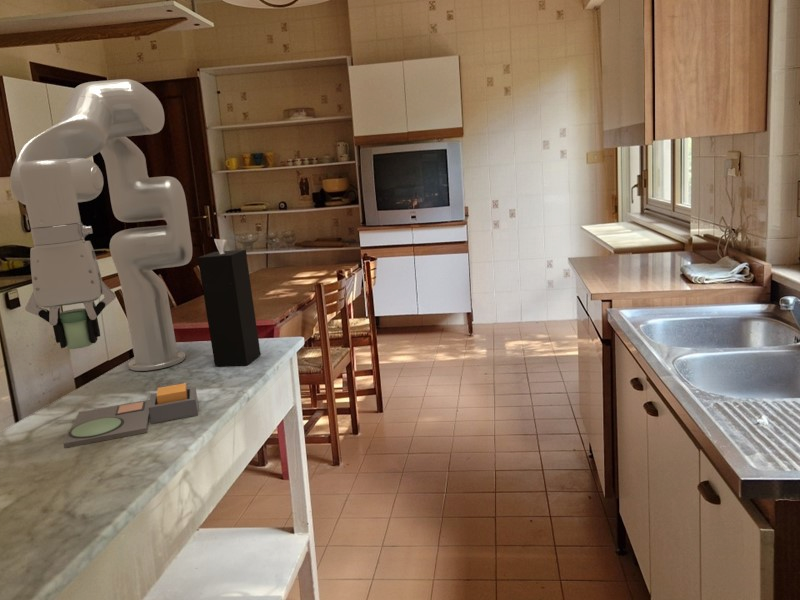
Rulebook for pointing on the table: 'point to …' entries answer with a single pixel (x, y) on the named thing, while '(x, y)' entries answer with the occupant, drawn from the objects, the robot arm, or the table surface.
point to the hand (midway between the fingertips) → (79, 342)
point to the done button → (172, 393)
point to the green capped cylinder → (75, 328)
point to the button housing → (173, 408)
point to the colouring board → (109, 423)
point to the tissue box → (229, 306)
